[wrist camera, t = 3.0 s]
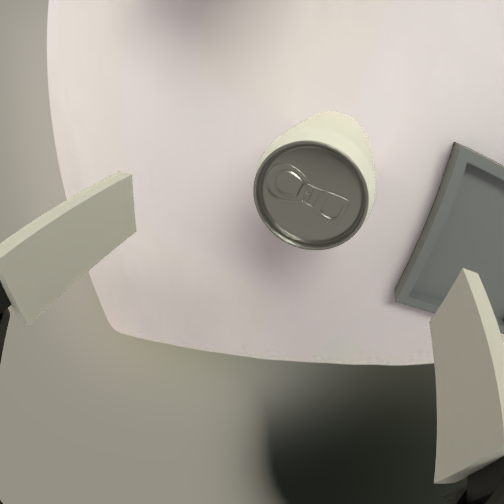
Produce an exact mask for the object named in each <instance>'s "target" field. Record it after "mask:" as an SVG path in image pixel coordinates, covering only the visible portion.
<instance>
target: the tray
mask: <svg viewBox="0 0 504 504" xmlns="http://www.w3.org/2000/svg"><path fill="white" fill-rule="evenodd" d="M462 268H465V269H467V270H470V271H473V272H475V273H478V275H479V277H480V279H481V282H482V284H483V286H484V289H485V291H486V294H487V296H488V299H489V301H490V304H491V307H492V309H493V312H494V315H495V318H496V321H497V323H498V326H499V329H500V332H501V333H502V334H504V166H502V165H501V164H499V163H497V162H495V161H493V160H491V159H489V158H487V157H485V156H483V155H481V154H479V153H477V152H475V151H473V150H471V149H469V148H467V147H465V146H463V145H460V144H458V143H456V142H454V145H453V149H452V152H451V155H450V158H449V162H448V165H447V168H446V171H445V174H444V177H443V180H442V183H441V185H440V188H439V191H438V194H437V196H436V199H435V202H434V204H433V207H432V209H431V212H430V214H429V217H428V219H427V222H426V224H425V227H424V229H423V231H422V234H421V236H420V238H419V241H418V243H417V245H416V247H415V250H414V252H413V254H412V256H411V258H410V260H409V262H408V264H407V267H406V269H405V271H404V273H403V275H402V277H401V279H400V281H399V283H398V285H397V287H396V289H395V301H396V302H399V303H402V304H406V305H409V306H412V307H415V308H419V309H422V310H425V311H429V312H432V313H436V311H437V310H438V308H439V307H440V305H441V304H442V302H443V300H444V299H445V297H446V296H447V294H448V292H449V291H450V289H451V287H452V286H453V284H454V282H455V280H456V279H457V277H458V275H459V273H460V272H461V270H462Z"/></svg>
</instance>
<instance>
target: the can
mask: <svg viewBox="0 0 504 504" xmlns="http://www.w3.org/2000/svg"><path fill="white" fill-rule="evenodd" d="M375 195H376V179H375V170H374V163H373V156H372V150H371V145H370V141H369V138H368V136H367V134H366V132H365V130H364V129H363V128H362V126H361V125H360V124H359V123H358V122H357V121H355V120H354V119H353V118H351V117H349V116H347V115H345V114H342V113H339V112H322V113H318V114H315V115H313V116H311V117H309V118H308V119H306V120H304V121H303V122H301V123H299V124H298V125H296V126H294V127H293V128H291V129H290V130H288V131H287V132H285V133H284V134H282V135H281V136H280V137H278V138H277V139H276V140H275V141H274V142H272V143H271V145H270V146H269V147H268V148H267V149H266V151H265V152H264V154H263V156H262V158H261V160H260V162H259V165H258V169H257V174H256V177H255V181H254V201H255V205H256V208H257V211H258V213H259V215H260V217H261V219H262V221H263V222H264V224H265V225H266V226H267V227H268V229H269V230H270V231H271V232H272V233H273V234H274V235H276V236H277V237H278V238H280V239H281V240H283V241H284V242H286V243H288V244H290V245H293V246H295V247H298V248H302V249H307V250H324V249H330V248H333V247H336V246H339V245H341V244H343V243H344V242H346V241H348V240H349V239H350V238H351V237H353V236H354V235H355V234H356V233H357V231H358V230H359V229H360V227H361V226H362V224H363V223H364V222H365V220H366V219H367V218H368V216H369V214H370V212H371V210H372V207H373V204H374V200H375Z"/></svg>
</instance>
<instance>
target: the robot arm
mask: <svg viewBox="0 0 504 504" xmlns="http://www.w3.org/2000/svg"><path fill="white" fill-rule="evenodd" d="M135 232H136V224H135V213H134V200H133V185H132V174H128V173H123V172H117V173H115V174H113V175H111V176H109V177H107V178H105V179H104V180H102V181H100V182H98V183H96V184H94V185H92V186H90V187H89V188H87V189H85V190H83V191H81V192H80V193H78V194H76V195H74V196H73V197H71V198H69V199H68V200H66V201H64V202H63V203H61V204H59V205H58V206H56V207H54V208H53V209H51V210H49V211H48V212H46V213H45V214H43V215H42V216H40V217H38V218H37V219H35V220H34V221H32V222H31V223H29V224H28V225H26V226H25V227H23V228H22V229H20V230H19V231H17V232H16V233H14V234H13V235H12V236H10V237H9V238H7V239H6V240H5V241H3V242H2V243H0V362H1V356H2V351H3V345H4V340H5V336H6V330H7V327H8V322H9V318H10V312H9V310H8V307H9V306H10V305H12V307H13V309H14V311H15V313H16V315H17V316H18V318H20V319H21V320H22V321H23V322H24V323H25V324H26V325H28V326H29V325H30V324H31V323H33V322H34V321H35V320H36V318H37V317H39V315H41V314H42V313H43V312H44V311H45V310H46V309H47V308H48V307H49V306H50V305H51V304H52V303H53V302H54V301H55V300H56V299H57V298H59V297H60V296H61V295H62V294H63V293H64V292H65V291H66V290H67V289H68V288H69V287H71V286H72V285H73V284H74V283H75V282H76V281H77V280H78V279H80V278H81V277H82V276H83V275H84V274H85V273H86V272H88V271H89V270H90V269H91V268H92V267H93V266H95V265H96V264H97V263H98V262H99V261H100V260H102V259H103V258H104V257H105V256H106V255H108V254H109V253H110V252H111V251H112V250H114V249H115V248H116V247H117V246H119V245H120V244H121V243H122V242H123V241H125V240H126V239H127V238H128V237H130V236H131V235H132V234H134V233H135ZM430 329H431V337H432V345H433V354H434V364H435V376H436V393H437V450H436V467H435V479H434V483H455V482H457V481H459V480H461V479H463V478H465V477H467V476H468V480H467V484H466V485H463V486H461V487H459V488H457V489H454V490H452V491H450V492H447V493H446V494H445V495H444V496H443V498H447V497H450V496H452V495H455V496H454V497H453V498H452V499H450V500H448V501H447V502H448V504H504V342H503V339H502V336H501V332H500V329H499V326H498V323H497V321H496V318H495V315H494V312H493V309H492V307H491V304H490V301H489V299H488V296H487V294H486V291H485V289H484V286H483V284H482V282H481V279H480V277H479V275H478V273H475V272H473V271H470V270H467V269H465V268H462V270H461V272H460V273H459V275H458V277H457V279H456V280H455V282H454V284H453V286H452V287H451V289H450V291H449V292H448V294H447V296H446V297H445V299H444V300H443V302H442V304H441V305H440V307H439V308H438V310H437V311H436V313H435V315H434V316H433V318H432V319H431V321H430ZM0 504H3V503H2V502H1V501H0Z"/></svg>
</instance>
